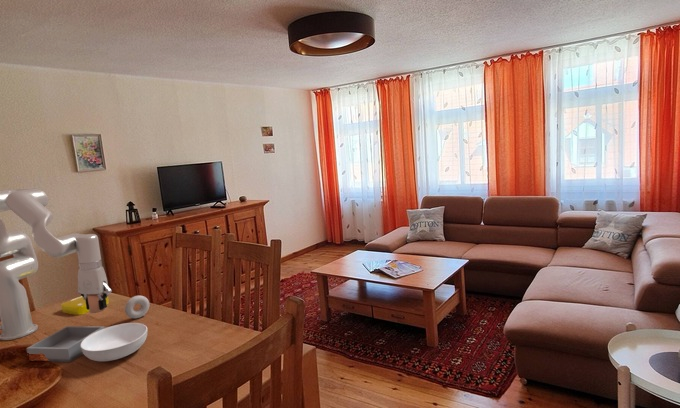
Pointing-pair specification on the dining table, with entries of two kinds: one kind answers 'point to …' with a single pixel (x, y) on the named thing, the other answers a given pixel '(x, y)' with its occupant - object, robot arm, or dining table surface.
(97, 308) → the pinkish-brown rounded piece
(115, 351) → the serving bowl
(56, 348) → the bin
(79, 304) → the element tile
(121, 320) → the dining table surface
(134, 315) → the donut
